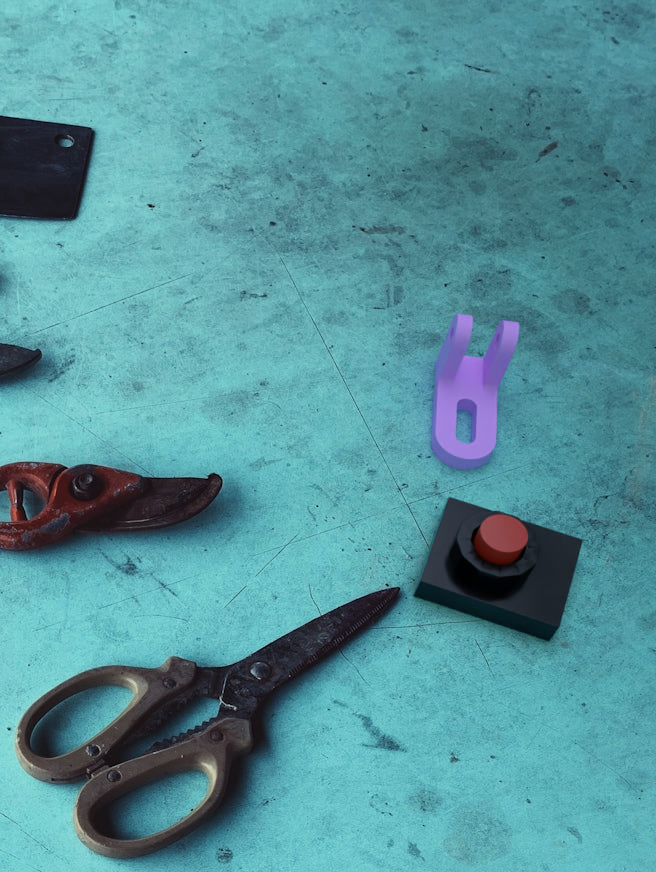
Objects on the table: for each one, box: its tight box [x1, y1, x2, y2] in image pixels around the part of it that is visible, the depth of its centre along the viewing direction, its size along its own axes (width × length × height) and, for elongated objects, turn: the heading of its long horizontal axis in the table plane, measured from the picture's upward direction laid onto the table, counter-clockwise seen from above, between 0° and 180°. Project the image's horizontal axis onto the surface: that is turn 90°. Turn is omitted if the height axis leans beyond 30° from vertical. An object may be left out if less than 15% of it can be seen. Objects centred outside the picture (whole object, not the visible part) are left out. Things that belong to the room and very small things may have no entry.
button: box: [474, 514, 528, 565], centre depth 101 cm, size 4×4×2 cm
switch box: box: [412, 496, 584, 642], centre depth 103 cm, size 12×10×4 cm
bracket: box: [430, 313, 520, 471], centre depth 110 cm, size 13×6×7 cm, turn 170°
